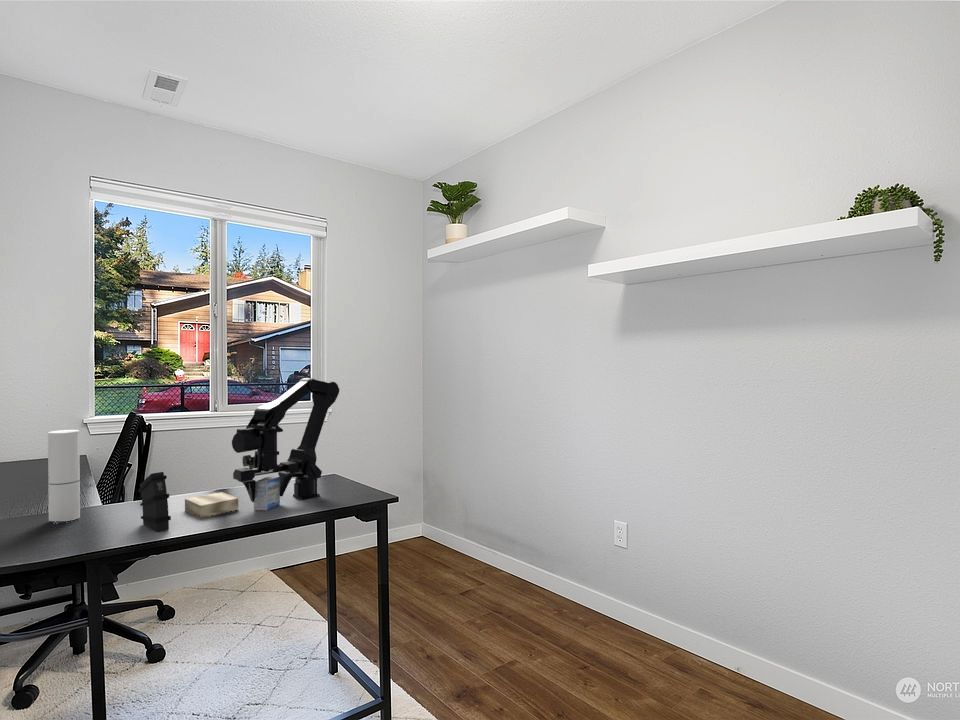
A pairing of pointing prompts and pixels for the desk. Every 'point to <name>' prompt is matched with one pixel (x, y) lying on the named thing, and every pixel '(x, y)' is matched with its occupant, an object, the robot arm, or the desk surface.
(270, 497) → the medicine box
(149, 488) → the magazine
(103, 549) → the desk surface
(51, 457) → the cylindrical container
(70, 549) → the desk surface
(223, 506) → the maple block
